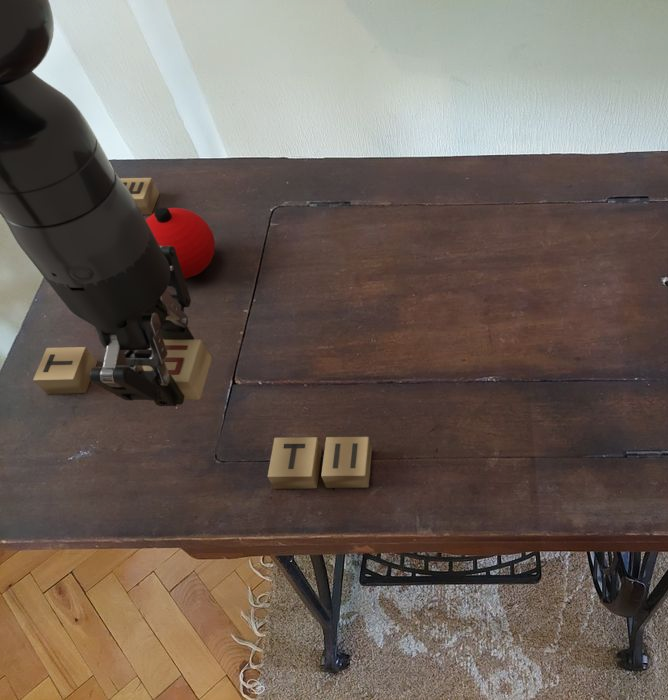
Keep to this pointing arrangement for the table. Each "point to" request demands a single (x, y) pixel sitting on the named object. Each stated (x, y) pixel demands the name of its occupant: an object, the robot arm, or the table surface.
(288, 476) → the near tile
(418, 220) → the table surface
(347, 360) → the table surface
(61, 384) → the letter t tile
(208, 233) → the ornament
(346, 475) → the near tile
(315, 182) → the table surface
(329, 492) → the table surface
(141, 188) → the far tile
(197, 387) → the tile
